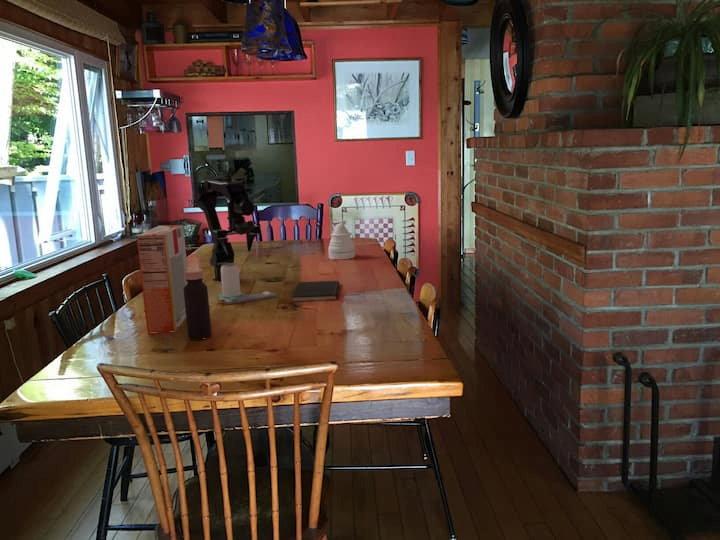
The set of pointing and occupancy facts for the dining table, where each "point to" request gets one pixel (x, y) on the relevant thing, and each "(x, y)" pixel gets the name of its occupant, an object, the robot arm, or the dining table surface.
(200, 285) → the bottle
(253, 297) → the legend board
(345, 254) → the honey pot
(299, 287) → the hardcover book
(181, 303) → the cereal box
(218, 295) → the pad
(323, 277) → the dining table surface
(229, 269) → the can
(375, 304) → the dining table surface
